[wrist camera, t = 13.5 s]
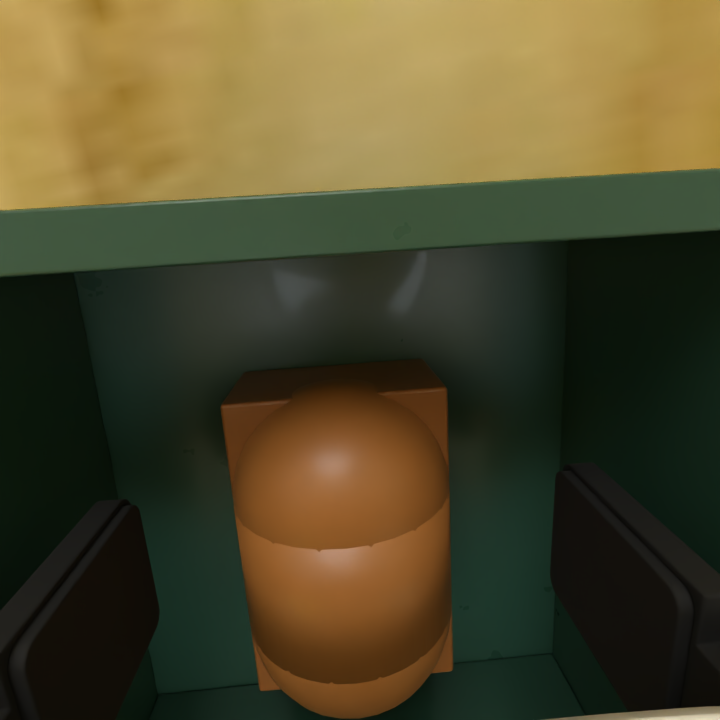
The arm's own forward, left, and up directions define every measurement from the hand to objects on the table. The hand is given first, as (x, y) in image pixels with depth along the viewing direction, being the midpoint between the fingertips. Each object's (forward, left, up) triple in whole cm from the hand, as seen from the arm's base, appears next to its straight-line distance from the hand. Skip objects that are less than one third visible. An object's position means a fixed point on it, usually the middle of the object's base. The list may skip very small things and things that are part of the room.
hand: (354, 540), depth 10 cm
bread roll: (+1, 0, -4) cm, 4 cm away
